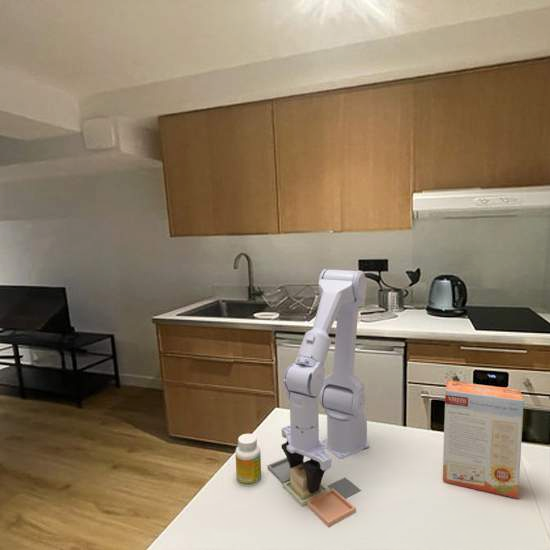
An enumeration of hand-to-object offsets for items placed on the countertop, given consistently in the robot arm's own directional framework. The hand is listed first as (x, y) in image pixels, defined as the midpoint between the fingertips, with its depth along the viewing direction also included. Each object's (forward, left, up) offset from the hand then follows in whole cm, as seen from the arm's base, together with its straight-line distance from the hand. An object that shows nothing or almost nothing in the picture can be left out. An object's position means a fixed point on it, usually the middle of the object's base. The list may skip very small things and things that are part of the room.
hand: (305, 483), depth 83 cm
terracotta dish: (-1, +7, -2) cm, 7 cm away
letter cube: (0, 0, -2) cm, 2 cm away
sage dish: (0, 0, -2) cm, 2 cm away
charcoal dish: (0, -7, -2) cm, 7 cm away
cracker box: (-32, +18, -2) cm, 37 cm away
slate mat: (-7, +4, -2) cm, 8 cm away
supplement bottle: (+8, -10, -2) cm, 13 cm away
